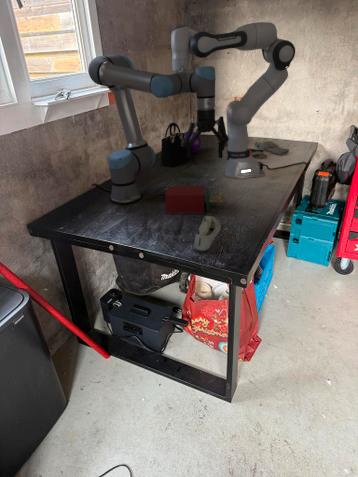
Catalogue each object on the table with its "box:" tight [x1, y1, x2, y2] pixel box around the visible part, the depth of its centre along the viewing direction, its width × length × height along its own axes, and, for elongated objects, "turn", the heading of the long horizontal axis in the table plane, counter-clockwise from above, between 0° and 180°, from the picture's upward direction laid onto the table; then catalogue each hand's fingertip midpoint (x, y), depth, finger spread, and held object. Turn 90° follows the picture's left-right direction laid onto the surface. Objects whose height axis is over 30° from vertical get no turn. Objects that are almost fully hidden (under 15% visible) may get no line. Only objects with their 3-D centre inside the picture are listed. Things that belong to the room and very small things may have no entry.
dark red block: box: [164, 185, 206, 215], centre depth 152 cm, size 17×11×9 cm, turn 85°
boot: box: [216, 115, 228, 146], centre depth 246 cm, size 9×24×20 cm, turn 168°
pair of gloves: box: [247, 140, 290, 159], centre depth 223 cm, size 30×26×5 cm
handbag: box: [160, 122, 188, 167], centre depth 211 cm, size 21×9×25 cm, turn 148°
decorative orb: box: [183, 130, 202, 154], centre depth 230 cm, size 15×15×15 cm
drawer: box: [205, 187, 224, 212], centre depth 151 cm, size 22×10×7 cm, turn 85°
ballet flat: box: [193, 215, 222, 253], centre depth 127 cm, size 8×24×8 cm, turn 163°
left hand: (206, 159), depth 146 cm, fingers open, 13 cm apart
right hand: (183, 96), depth 165 cm, fingers open, 8 cm apart
